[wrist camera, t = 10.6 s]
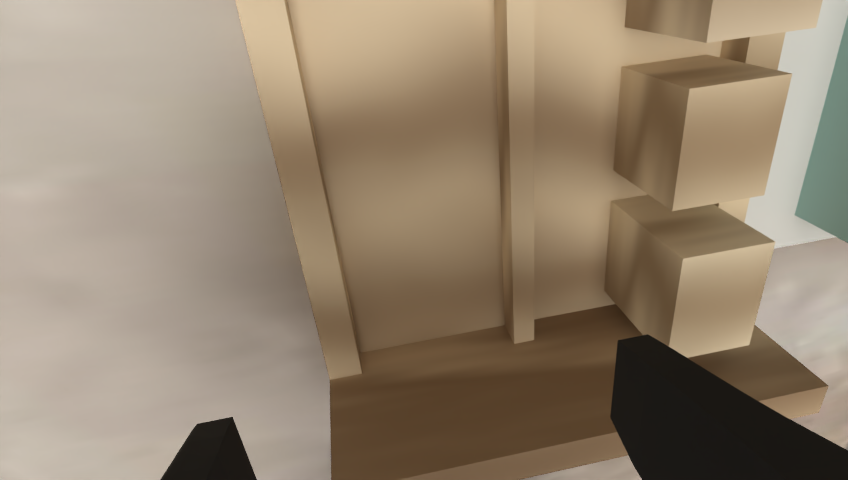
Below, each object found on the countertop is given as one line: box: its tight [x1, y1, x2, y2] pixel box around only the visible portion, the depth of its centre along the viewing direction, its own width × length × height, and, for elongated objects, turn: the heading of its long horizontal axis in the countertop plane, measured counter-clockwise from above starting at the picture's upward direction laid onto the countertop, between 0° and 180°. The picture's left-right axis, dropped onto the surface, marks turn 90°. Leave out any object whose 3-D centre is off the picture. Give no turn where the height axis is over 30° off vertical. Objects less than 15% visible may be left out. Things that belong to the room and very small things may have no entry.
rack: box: [235, 0, 828, 480], centre depth 15 cm, size 18×16×7 cm
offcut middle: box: [613, 54, 792, 211], centre depth 16 cm, size 4×3×4 cm
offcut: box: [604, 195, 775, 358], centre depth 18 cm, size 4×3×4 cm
